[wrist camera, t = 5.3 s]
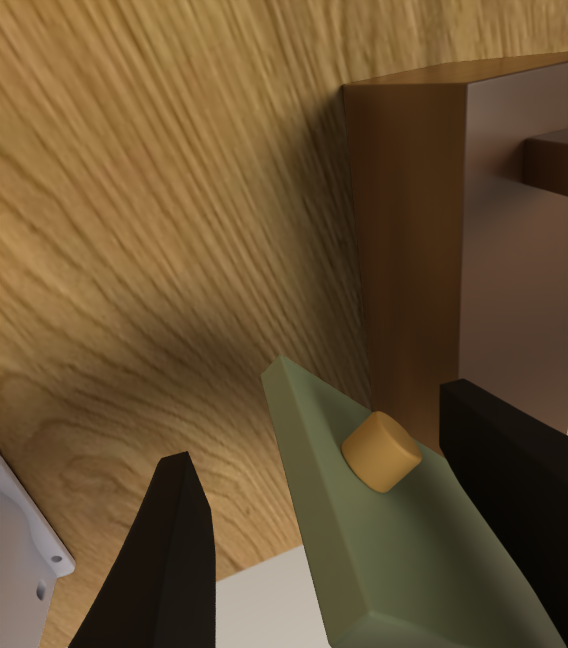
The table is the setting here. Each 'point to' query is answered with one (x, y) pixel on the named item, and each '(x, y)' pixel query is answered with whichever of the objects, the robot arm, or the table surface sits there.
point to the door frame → (463, 234)
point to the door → (392, 530)
